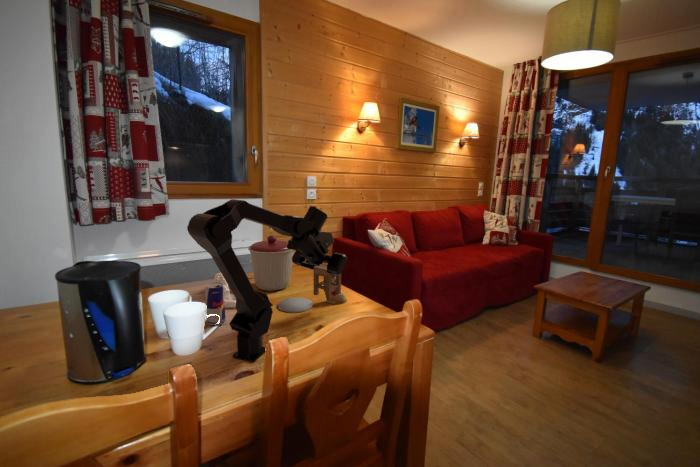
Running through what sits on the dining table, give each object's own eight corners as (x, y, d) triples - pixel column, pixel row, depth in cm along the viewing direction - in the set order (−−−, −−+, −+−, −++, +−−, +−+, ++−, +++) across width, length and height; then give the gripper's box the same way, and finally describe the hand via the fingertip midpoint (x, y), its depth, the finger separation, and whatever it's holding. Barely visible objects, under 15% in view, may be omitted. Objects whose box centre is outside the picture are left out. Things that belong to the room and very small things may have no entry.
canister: (245, 282, 139) (243, 232, 135) (287, 277, 147) (287, 230, 143) (255, 297, 123) (253, 241, 119) (301, 290, 132) (301, 238, 128)
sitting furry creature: (240, 308, 114) (238, 274, 112) (212, 312, 110) (211, 277, 108) (235, 298, 123) (234, 266, 120) (210, 302, 119) (208, 269, 116)
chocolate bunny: (327, 297, 125) (328, 272, 123) (348, 300, 123) (348, 274, 121) (322, 303, 120) (322, 276, 118) (343, 306, 118) (344, 278, 116)
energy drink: (219, 327, 100) (217, 288, 98) (203, 324, 101) (200, 287, 99) (229, 319, 106) (227, 282, 103) (213, 317, 107) (211, 281, 104)
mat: (304, 314, 110) (303, 313, 110) (271, 309, 113) (271, 308, 113) (318, 301, 121) (318, 300, 121) (288, 297, 125) (288, 295, 125)
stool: (328, 299, 106) (329, 270, 105) (313, 294, 110) (313, 266, 108) (340, 293, 112) (341, 265, 110) (325, 289, 115) (326, 262, 113)
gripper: (344, 228, 98) (363, 257, 109) (297, 221, 108) (319, 248, 119) (327, 259, 93) (349, 287, 104) (280, 249, 103) (304, 275, 114)
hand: (330, 273), depth 111 cm, fingers closed on stool, 6 cm apart
